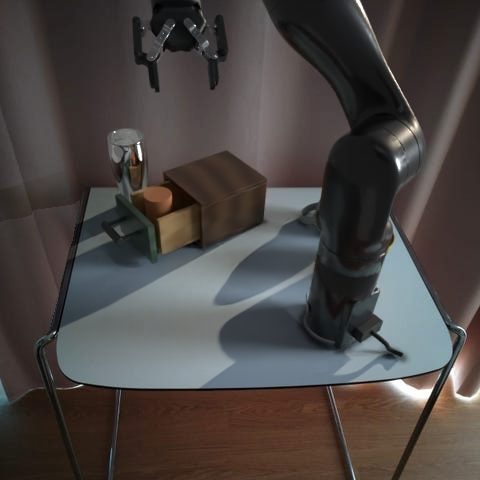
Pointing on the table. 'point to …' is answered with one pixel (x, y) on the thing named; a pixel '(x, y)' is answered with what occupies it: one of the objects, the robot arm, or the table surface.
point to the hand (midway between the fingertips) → (185, 89)
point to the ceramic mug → (313, 219)
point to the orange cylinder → (157, 205)
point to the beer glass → (128, 160)
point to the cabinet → (222, 194)
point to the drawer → (169, 227)
